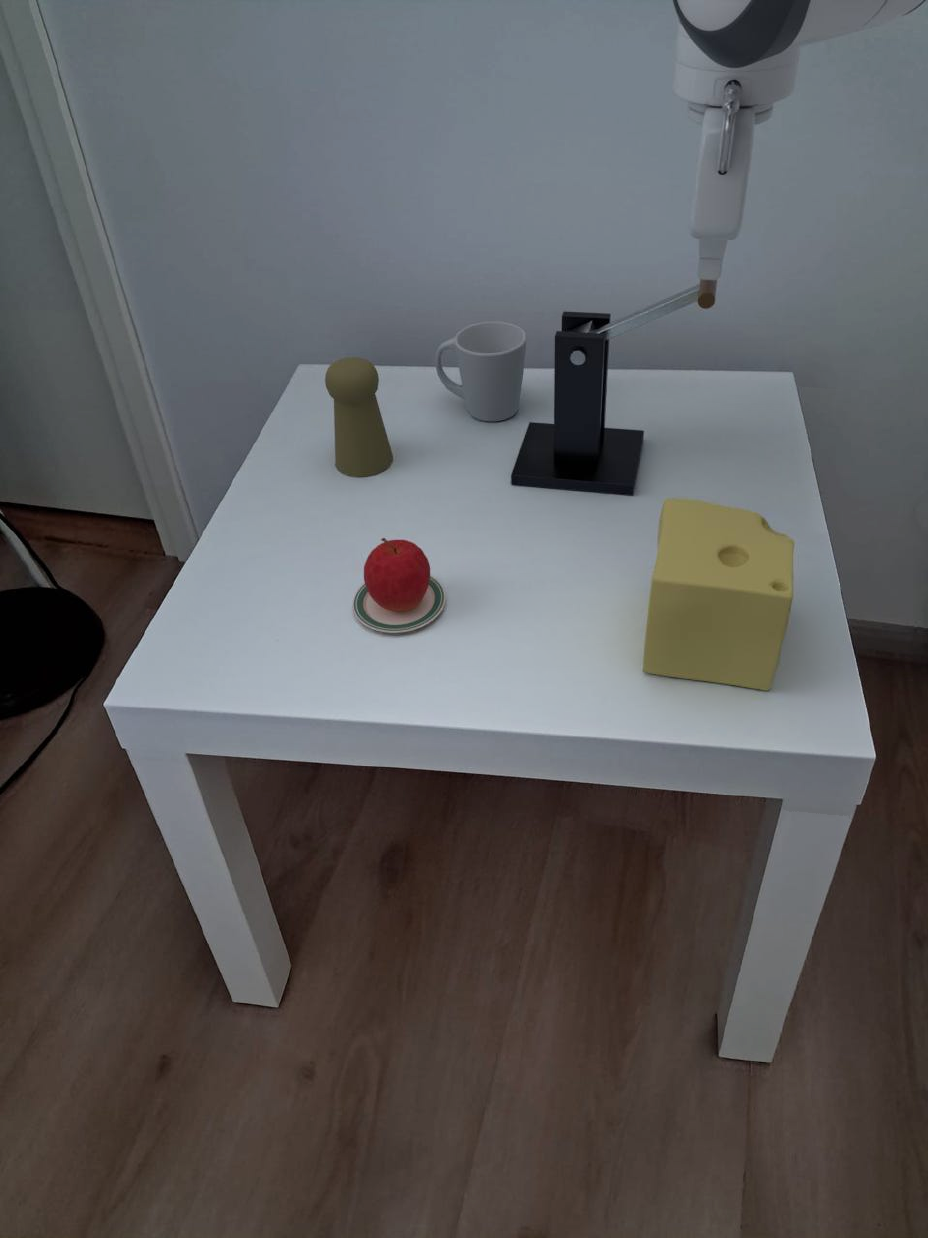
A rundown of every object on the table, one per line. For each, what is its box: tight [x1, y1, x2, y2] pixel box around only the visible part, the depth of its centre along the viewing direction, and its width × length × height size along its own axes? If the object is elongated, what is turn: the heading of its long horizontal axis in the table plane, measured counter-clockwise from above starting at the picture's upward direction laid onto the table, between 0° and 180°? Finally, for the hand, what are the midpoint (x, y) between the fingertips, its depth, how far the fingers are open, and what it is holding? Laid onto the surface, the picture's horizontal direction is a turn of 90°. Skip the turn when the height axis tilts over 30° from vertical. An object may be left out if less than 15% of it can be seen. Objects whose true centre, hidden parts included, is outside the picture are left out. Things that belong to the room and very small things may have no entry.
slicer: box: [510, 310, 645, 497], centre depth 90 cm, size 12×10×15 cm
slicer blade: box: [567, 278, 718, 341], centre depth 83 cm, size 14×5×2 cm, turn 77°
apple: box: [352, 537, 447, 634], centre depth 78 cm, size 8×8×6 cm
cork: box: [324, 356, 394, 478], centre depth 94 cm, size 6×6×11 cm
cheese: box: [642, 497, 795, 692], centre depth 72 cm, size 10×11×10 cm
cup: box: [434, 321, 528, 423], centre depth 101 cm, size 8×10×8 cm
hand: (711, 252), depth 78 cm, fingers open, 8 cm apart
